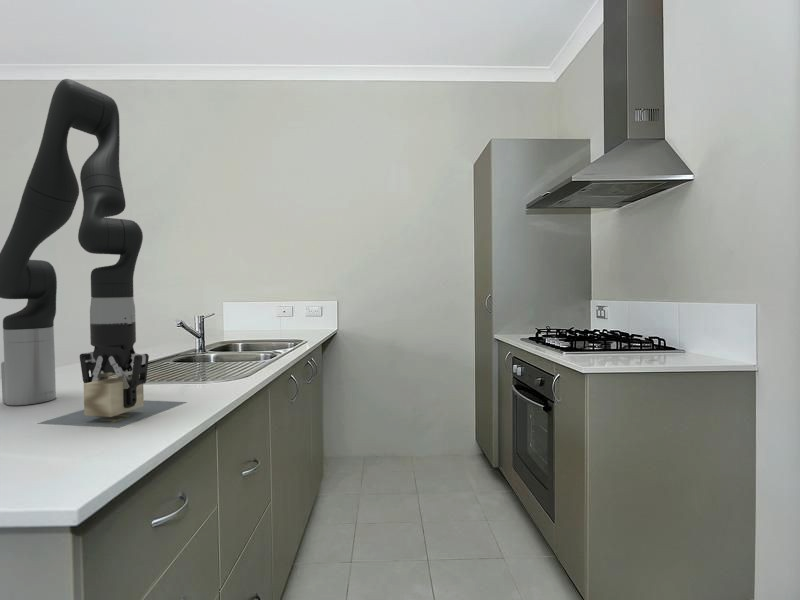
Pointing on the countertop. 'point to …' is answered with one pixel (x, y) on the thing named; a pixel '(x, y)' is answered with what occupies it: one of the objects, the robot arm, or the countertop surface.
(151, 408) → the grey mat
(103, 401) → the beech block
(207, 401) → the countertop surface
